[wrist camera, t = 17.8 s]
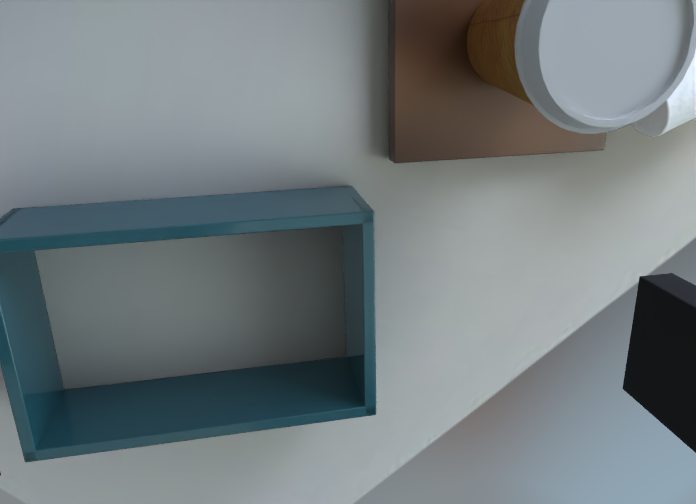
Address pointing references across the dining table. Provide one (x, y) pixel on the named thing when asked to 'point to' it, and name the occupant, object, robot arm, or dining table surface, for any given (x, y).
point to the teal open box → (185, 391)
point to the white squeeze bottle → (672, 107)
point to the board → (457, 94)
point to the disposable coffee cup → (585, 56)
